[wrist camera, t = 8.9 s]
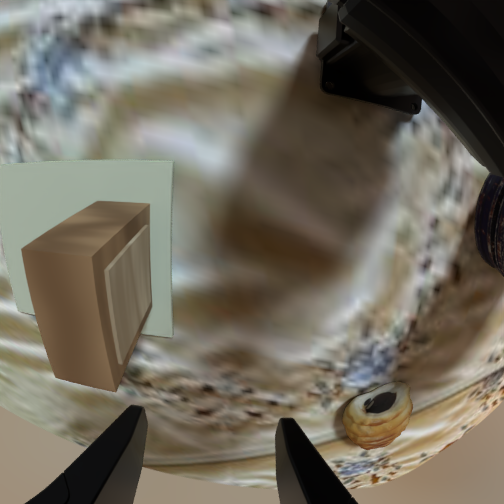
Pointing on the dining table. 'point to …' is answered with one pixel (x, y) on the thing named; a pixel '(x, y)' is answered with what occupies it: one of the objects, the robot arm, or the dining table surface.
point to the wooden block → (92, 290)
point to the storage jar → (491, 222)
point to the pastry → (378, 415)
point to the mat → (77, 198)
